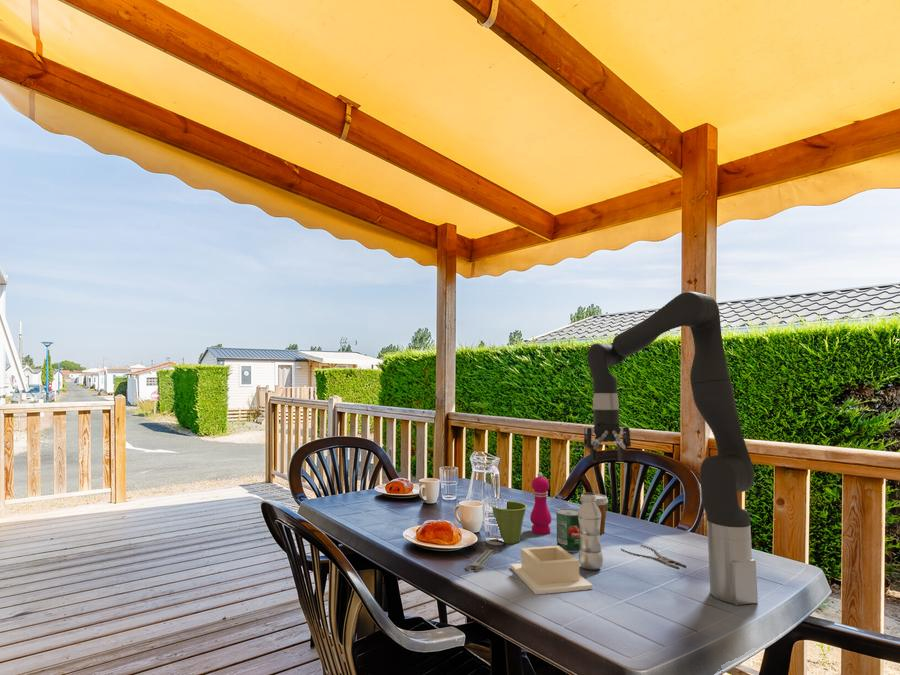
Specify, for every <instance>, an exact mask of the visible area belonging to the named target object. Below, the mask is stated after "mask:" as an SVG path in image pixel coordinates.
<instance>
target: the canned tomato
mask: <svg viewBox="0 0 900 675" xmlns="http://www.w3.org/2000/svg"><path fill="white" fill-rule="evenodd" d="M555 514H556V518H555V519H556V546H560V547H561V548H563V549H564V550H565V551H567V552H568V553H579V550H580V526H579V520H578V509H574V508H573V509H572V508H559V509H557V510H556V513H555Z"/></svg>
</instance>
